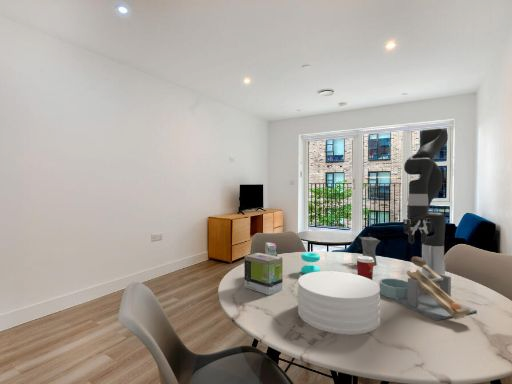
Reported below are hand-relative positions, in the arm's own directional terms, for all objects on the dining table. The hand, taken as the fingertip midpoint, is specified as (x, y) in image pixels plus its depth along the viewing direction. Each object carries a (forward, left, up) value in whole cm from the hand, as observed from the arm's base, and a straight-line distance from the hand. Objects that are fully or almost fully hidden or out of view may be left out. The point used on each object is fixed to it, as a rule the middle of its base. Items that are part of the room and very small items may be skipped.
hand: (417, 242), depth 120 cm
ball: (+10, +24, -17) cm, 31 cm away
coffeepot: (-12, -45, -22) cm, 52 cm away
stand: (+6, +13, -22) cm, 26 cm away
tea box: (+62, -25, -22) cm, 71 cm away
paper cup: (+18, -11, -22) cm, 31 cm away
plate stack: (+45, +6, -22) cm, 51 cm away
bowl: (+10, -2, -22) cm, 24 cm away
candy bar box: (+52, -41, -22) cm, 70 cm away
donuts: (+30, -39, -22) cm, 54 cm away
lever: (+5, +12, -14) cm, 19 cm away
